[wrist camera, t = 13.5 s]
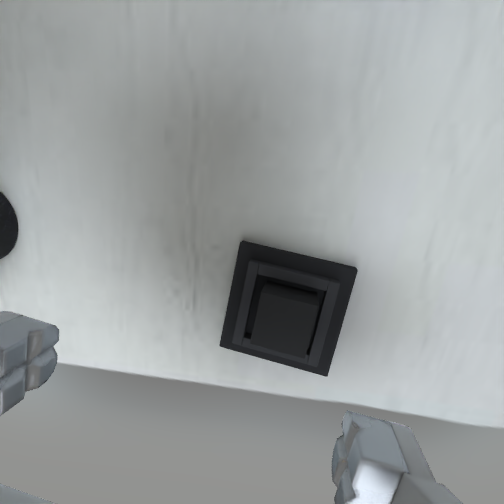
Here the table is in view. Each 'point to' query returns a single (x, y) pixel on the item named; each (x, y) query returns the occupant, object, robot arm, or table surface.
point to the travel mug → (7, 227)
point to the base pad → (295, 275)
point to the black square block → (285, 319)
